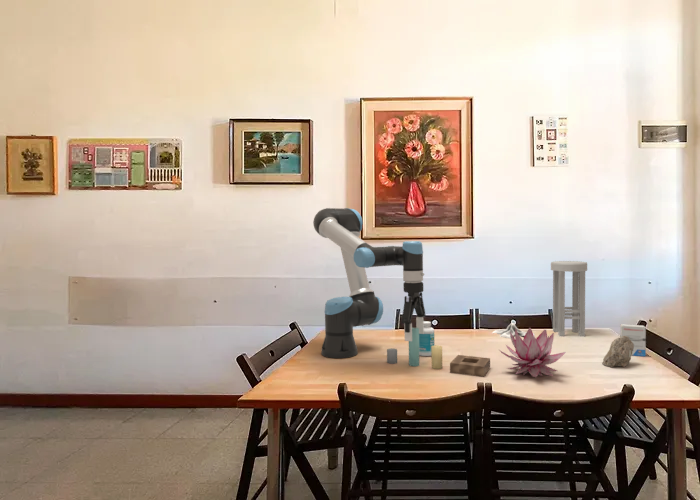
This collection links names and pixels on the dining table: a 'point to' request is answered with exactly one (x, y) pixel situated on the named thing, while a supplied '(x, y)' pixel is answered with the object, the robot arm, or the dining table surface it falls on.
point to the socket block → (470, 365)
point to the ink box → (635, 337)
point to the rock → (619, 352)
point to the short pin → (391, 356)
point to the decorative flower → (533, 353)
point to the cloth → (506, 332)
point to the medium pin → (436, 356)
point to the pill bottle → (426, 340)
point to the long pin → (414, 348)
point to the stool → (577, 296)
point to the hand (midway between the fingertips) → (414, 337)
